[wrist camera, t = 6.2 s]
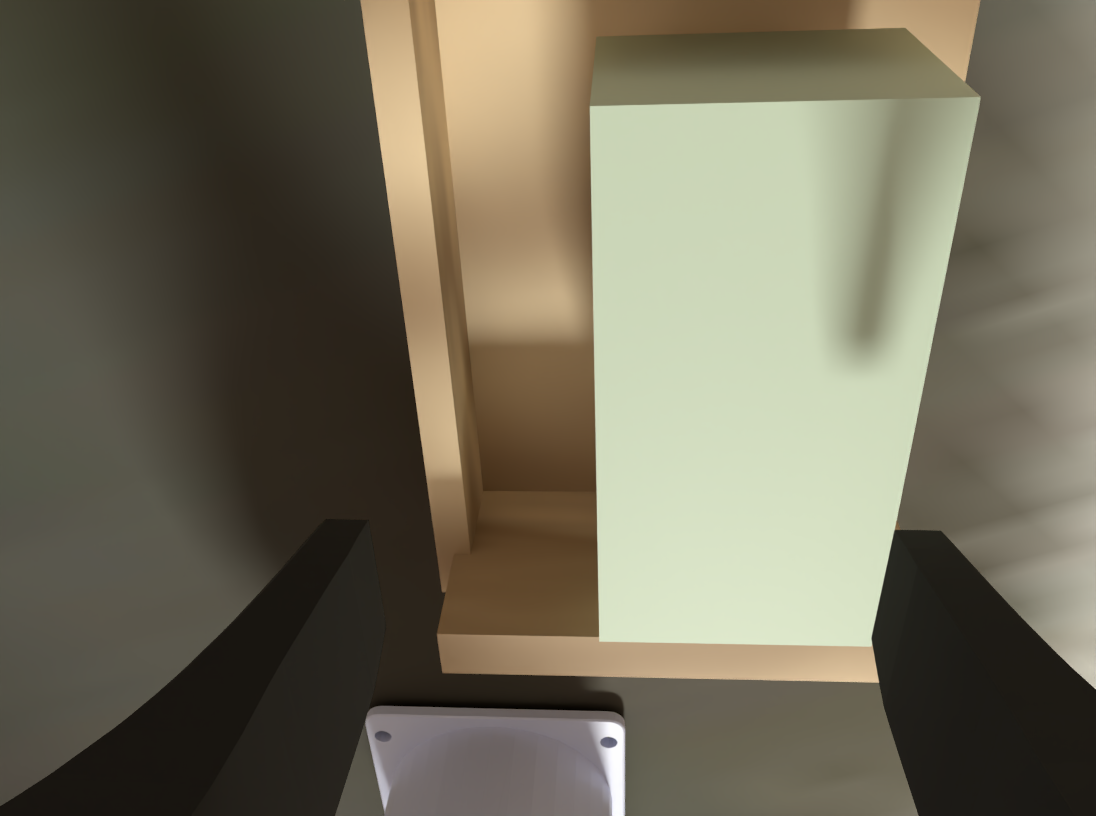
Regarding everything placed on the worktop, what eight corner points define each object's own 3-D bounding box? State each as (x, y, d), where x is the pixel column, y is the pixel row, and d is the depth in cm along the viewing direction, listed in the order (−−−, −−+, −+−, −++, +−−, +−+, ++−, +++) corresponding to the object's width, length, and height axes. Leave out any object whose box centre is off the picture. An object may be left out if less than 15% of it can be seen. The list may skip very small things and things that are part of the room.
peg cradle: (875, 516, 25) (931, 683, 20) (459, 512, 26) (424, 672, 21) (997, -157, 17) (1138, -129, 12) (383, -130, 18) (300, -95, 13)
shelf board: (832, 508, 21) (871, 646, 18) (602, 506, 22) (599, 641, 18) (905, 27, 16) (980, 97, 12) (596, 36, 16) (589, 106, 13)
